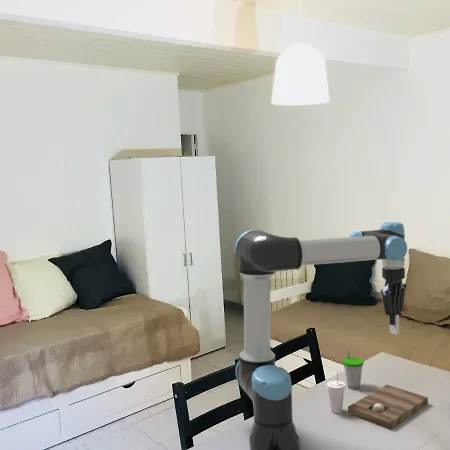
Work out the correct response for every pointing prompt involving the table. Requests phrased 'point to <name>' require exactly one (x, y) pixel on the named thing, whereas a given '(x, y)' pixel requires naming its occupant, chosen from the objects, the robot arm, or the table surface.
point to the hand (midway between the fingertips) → (394, 333)
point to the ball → (378, 408)
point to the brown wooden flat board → (388, 406)
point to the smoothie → (336, 394)
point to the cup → (353, 371)
